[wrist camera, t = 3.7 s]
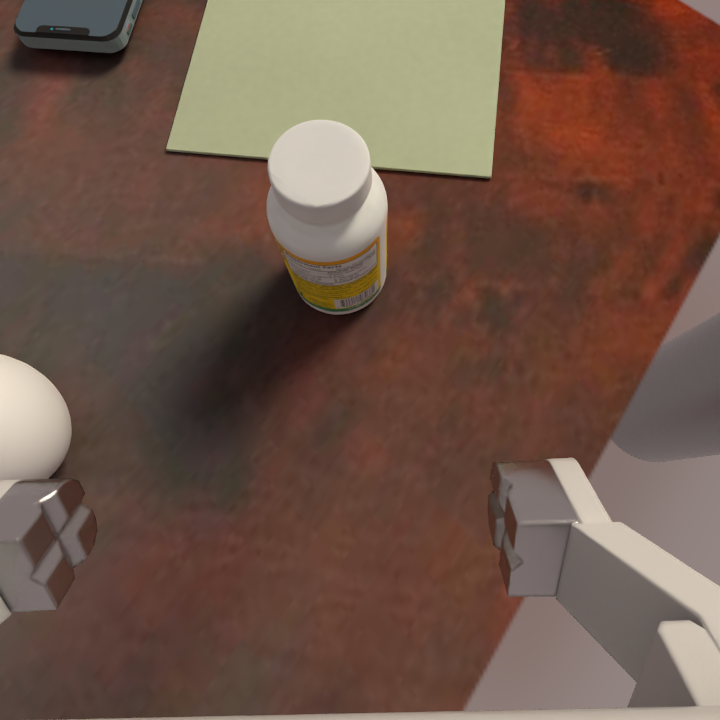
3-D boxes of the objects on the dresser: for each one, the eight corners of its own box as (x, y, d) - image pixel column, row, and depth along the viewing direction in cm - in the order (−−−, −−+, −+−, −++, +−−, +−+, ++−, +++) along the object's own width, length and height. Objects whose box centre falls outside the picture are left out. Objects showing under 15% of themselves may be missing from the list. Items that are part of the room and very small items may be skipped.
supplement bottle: (365, 330, 27) (355, 244, 18) (277, 297, 28) (224, 198, 19) (401, 247, 28) (408, 126, 19) (316, 218, 29) (284, 88, 20)
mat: (506, -26, 34) (507, -28, 33) (490, 178, 29) (491, 176, 29) (220, -40, 35) (219, -43, 35) (167, 151, 31) (165, 148, 31)
